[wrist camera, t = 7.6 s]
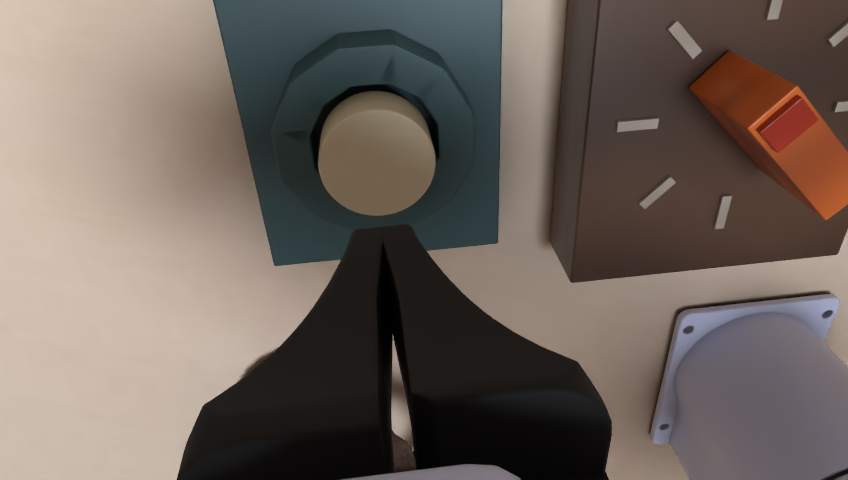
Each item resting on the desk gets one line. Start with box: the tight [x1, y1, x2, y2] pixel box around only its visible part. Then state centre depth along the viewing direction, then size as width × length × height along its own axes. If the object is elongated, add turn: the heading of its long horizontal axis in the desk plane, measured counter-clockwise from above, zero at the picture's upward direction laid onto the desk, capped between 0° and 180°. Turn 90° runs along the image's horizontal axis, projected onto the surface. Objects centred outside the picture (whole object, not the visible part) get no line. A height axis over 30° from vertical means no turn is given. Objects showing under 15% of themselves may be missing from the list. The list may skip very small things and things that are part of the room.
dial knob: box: [689, 50, 848, 220], centre depth 19 cm, size 5×2×4 cm, turn 48°
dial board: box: [550, 0, 848, 283], centre depth 22 cm, size 13×11×3 cm
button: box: [318, 91, 436, 216], centre depth 19 cm, size 4×4×2 cm
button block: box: [213, 0, 502, 266], centre depth 21 cm, size 11×9×3 cm
